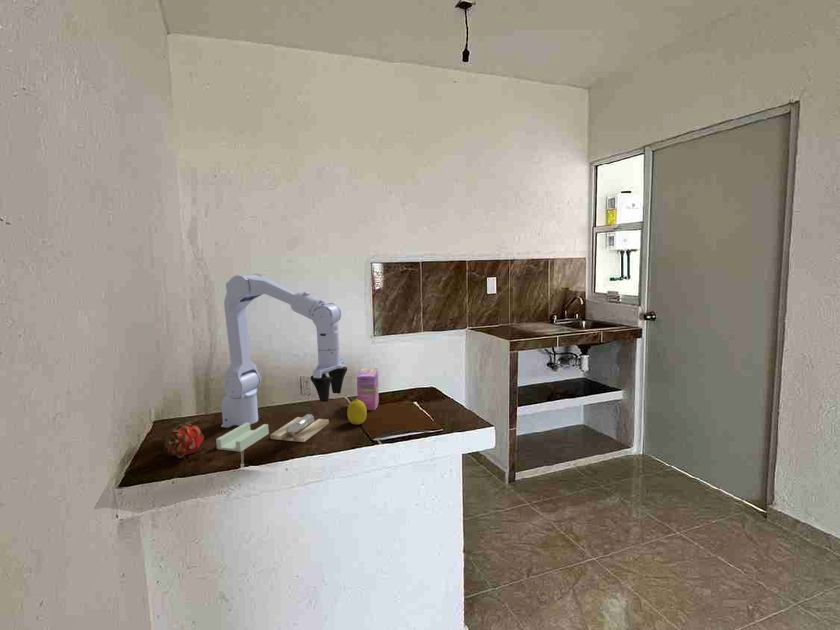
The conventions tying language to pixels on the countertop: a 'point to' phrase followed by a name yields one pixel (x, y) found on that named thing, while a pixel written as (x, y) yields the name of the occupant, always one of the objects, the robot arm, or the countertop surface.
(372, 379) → the box
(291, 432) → the axle
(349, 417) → the lemon
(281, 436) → the grooved wooden board
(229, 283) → the robot arm
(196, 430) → the dragon fruit
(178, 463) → the countertop surface
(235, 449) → the cradle
